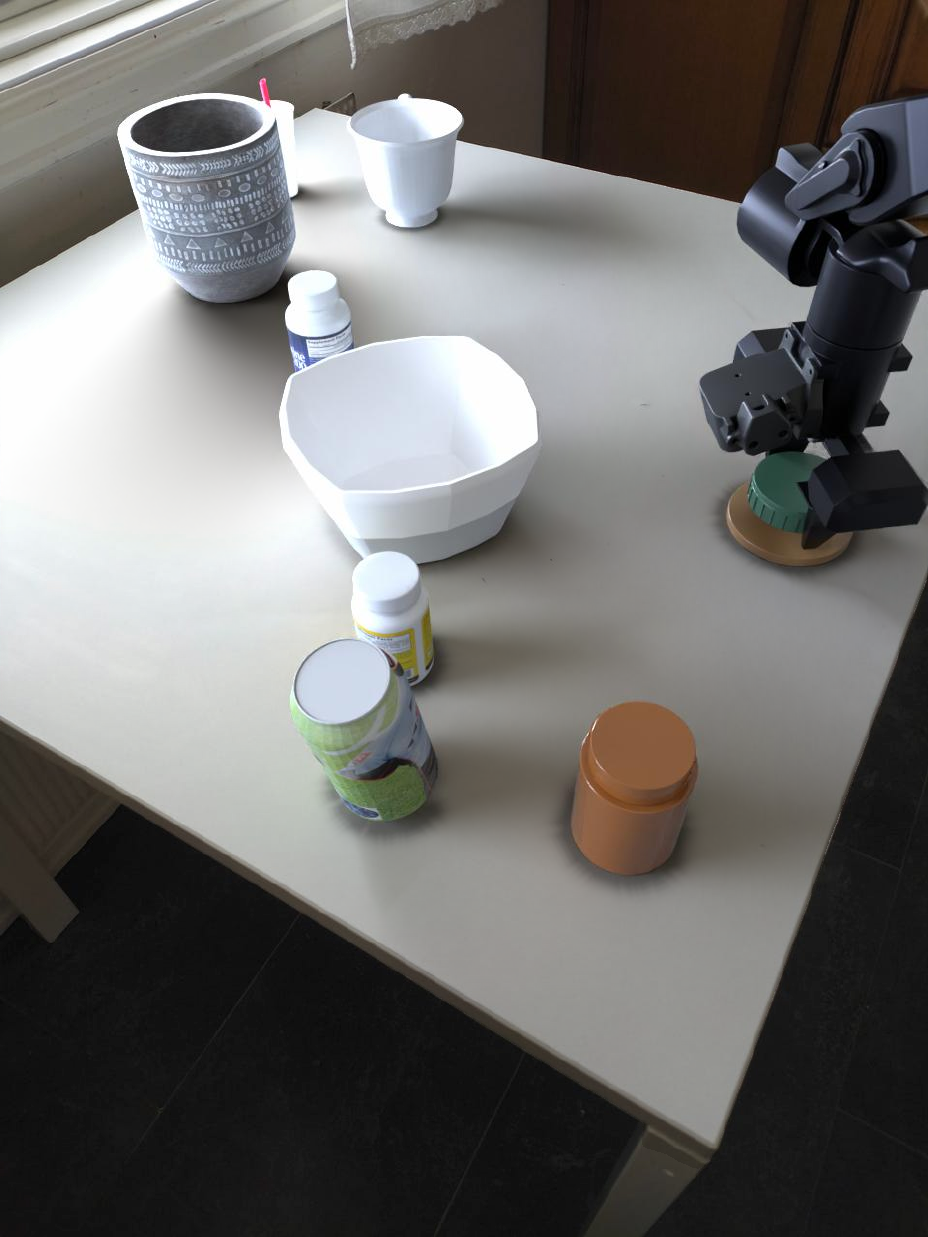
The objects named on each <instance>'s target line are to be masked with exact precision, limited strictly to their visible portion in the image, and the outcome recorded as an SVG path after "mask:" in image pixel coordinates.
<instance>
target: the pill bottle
mask: <svg viewBox="0 0 928 1237" xmlns="http://www.w3.org/2000/svg"><path fill="white" fill-rule="evenodd" d="M339 287H340V286H339V283H338V278H337V277H336V275H334V274H333V273H331V272H329V271H326V270H319V269H318V270H317V269H315V270H313V269H312V270H306V271H302V272H299V273H297V274H295V275H293V277H291V278H290V279H289V281H288V283H287V288H288V295H289V300H290V304H289V305H288V306H287V308H286V310H285V317H284V318H285V325H286V330H287V335H288V341H289V346H290V352H291V357H292V363H293V367H294V371H295V372H294V373H296V372H298V371H300V370H302V369H304V368H306V367H308V366H311V365H313V364H315V363H317V362H319V361H321V360H323V359H325V358H327V357H330V356H333V355H336V354H339V353H343V352H346V351H349V350H352V349H356V348H355V342H354V335H353V334H354V332H353V324H352V318H351V310H350V308H349V306H348V304H347V302H346V301H345V300H344V299H342V298H341V297H340V295H341V294H340V293H341V292H340V288H339Z"/></svg>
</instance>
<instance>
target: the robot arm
mask: <svg viewBox="0 0 928 1237" xmlns="http://www.w3.org/2000/svg"><path fill="white" fill-rule="evenodd" d="M840 133H841V134H842V135H841V136H840V138H839V139H838V141H836V143H834V144H833V146H832V147H831V148H830V149H828V151H827V152H826V153H825V154H824V155H823V154H822V152H821V151H820V150H819V149H818V148H817V147H815V146H813V145H812V144H811V143H810V142H804V143H798V144H797V143H796V144H791V145H786V146H781V147H780V148H779V150H778V153H777V158H776V162H775V166H772V167H771V168H770V169H768V170H767V171H766V172H764V173H763V174H762V175H761V176H760V177H759V178H758V179H757V180H756V181H755V183H753V185H752V186H751V188H750V189H749V190H748V192H747V193H746V195H745V197H744V199H743V201H742V202H741V203H740V204H739V206H738V208H737V209H738V210H737V214H736V230H737V234H738V236H739V237H740V239H741V241H742V242H743V243H744V244H746V245H747V246H748V247H749V248H750V249H751V250H752V251H753V252H755V253H756V254H757V255H758V256H759V257H760V258H761V259H763V260H764V261H765V262H766V263H768V265H770V266H771V267H772V268H773V269H774V270H775V271H777V272H778V273H779V274H780V275H781V276H783V277H784V278H785V279H786V280H787V281H788V282H789V283H790V284H792V285H793V286H796V287H799V288H812V287H815V290H814V293H813V295H812V300H811V303H810V306H809V310H808V313H807V316H806V320H801V321H792V322H791V323H790V326H786V327H777V328H776V327H775V328H766V329H764V328H763V329H753V330H751V331H750V332H749V333H747V334H746V335H745V336H743V338H741V339H740V340H739V341H738V342H736V346H735V350H734V354H733V359H732V362H730V363H728V364H725V365H723V366H721V367H718V368H715V369H713V370H710V371H708V372H706V373H704V374H703V375H702V376H701V377H700V378H699V380H698V389H699V393H700V398H701V402H702V403H701V404H702V406H703V407H702V408H703V411H704V416H705V421H706V422H707V424H708V426H709V427H710V429H711V431H712V434H713V435H714V437H715V439H716V441H717V442H716V443H717V444H718V446H719V448H720V449H721V450H722V451H724V452H725V453H739V452H741V451H744V454H745V455H748V456H751V457H756V456H758V455H762V454H765V455H764V456H765V458H766V457H768V456H770V455H773V454H776V453H780V452H790V451H794V452H805V451H806V449H807V448H808V446H809V444H810V443H811V444H817V443H821V444H822V445H823V447H824V449H825V450H826V452H827V454H828V455H829V457H828V458H826V459H827V460H825V461H824V462H823V463H821V464H820V465H818V466H817V467H816V468H814V469H813V470H812V473H811V476H810V478H809V481H803V482H796V485H797V487H798V488H799V490H800V492H801V494H802V495H803V497H804V499H805V501H806V502H807V504H808V510H807V515H806V519H805V524H804V528H803V533H802V541H801V546H802V548H803V549H804V550H807V549H815V548H818V547H819V546H820V545H822V544H823V543H824V542H826V541H827V540H829V539H830V538H831V537H833V536H834V535H835V534H837V533H845V532H853V533H854V532H860V531H862V532H863V531H871V530H881V529H888V528H889V529H890V528H898V527H906V526H907V527H909V526H916V525H918V524H919V523H920V521H921V520H922V518H923V516H924V513H925V512H926V510H927V508H928V485H927V484H926V483H925V481H924V480H923V479H922V477H921V476H920V474H919V473H918V471H917V470H916V469H915V468H914V466H913V464H912V463H911V462H910V459H908V458H907V457H906V456H905V455H904V453H903V452H902V451H901V450H900V449H891V450H890V449H889V450H881V451H876V450H875V449H874V447H873V446H872V444H871V443H870V442H869V440H868V439H867V437H866V436H865V434H864V431H865V429H866V428H876V427H878V428H879V427H885V426H886V425H887V421H888V419H889V417H890V415H891V412H890V411H889V410H888V408H887V406H886V405H885V404H884V402H883V401H882V400H881V398H882V395H883V393H884V391H885V388H886V385H887V382H888V379H889V377H890V374H891V373H899V372H908V370H909V368H910V365H911V363H912V360H913V358H914V356H913V355H912V353H911V352H910V351H909V349H908V348H907V347H906V346H905V345H904V343H903V341H904V339H905V337H906V334H907V331H908V329H909V326H910V324H911V321H912V318H913V316H914V313H915V311H916V308H917V307H918V306H917V305H918V303H919V300H920V298H921V295H922V293H923V291H927V290H928V234H927V235H926V234H924V232H922V231H920V229H918V228H916V227H915V226H913V225H912V224H910V223H909V222H908V221H906V220H903V219H909V218H913V217H919V216H924V215H928V92H926V93H922V94H915V95H912V96H905V97H901V98H894V99H891V100H884V101H880V102H874V103H870V104H866V105H863V106H860V107H859V108H857V109H855V110H854V111H853V112H852V113H851V114H850V115H849V116H848V117H847V118H846V120H845V121H844V122H843V123H842V126H841V128H840Z"/></svg>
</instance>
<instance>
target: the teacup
mask: <svg viewBox="0 0 928 1237" xmlns="http://www.w3.org/2000/svg"><path fill="white" fill-rule="evenodd" d="M464 124H465V119H464V117H463V115H462V113H460V111H459V110H457V108H455V107H453V106H452V105H449V104H448V103H445V102H442V101H438V100H433V99H426V98H412V95H411V94H409V93H402V94H400V95H399V96H398V98H395V99H389V100H383V101H379V102H375V103H372V104H369V105H366V106H365V107H362V108H360V109H359V110H357V111H356V112H355V113H353V115H352V116H351V117H350V118H349V120H348V121H347V124H346V125H347V126H346V127H347V130H348V132H349V133H350V135H352V136H353V137H354V139H355V142H356V146H357V150H358V153H359V157H360V162H361V166H362V172H363V175H364V180H365V184H366V187H367V189H368V193H369V196H370V197H371V199H372V201H373V202H374V203H375V204H376V205H377V207H379V208H380V209H382V210H384V211H385V212H386V213H385V217H386V220H387V221H388V222H389V223H390V224H392V225H394V226H396V227H400V228H405V229H406V228H407V229H408V228H409V229H410V228H412V229H413V228H421V227H424V226H427V225H429V224H431V223H433V222H434V221H435V220H436V219H437V217H438V208H440V207H441V206H442V205H443V204H444V203H445V202H446V200H447V199H448V197H449V196H450V193H451V190H452V187H453V186H452V185H453V179H454V172H455V170H454V169H455V157H456V148H457V138H458V134H459V131H460V130H461V129H462V128H463V127H464Z"/></svg>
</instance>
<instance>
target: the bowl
mask: <svg viewBox="0 0 928 1237" xmlns="http://www.w3.org/2000/svg"><path fill="white" fill-rule="evenodd" d="M279 424H280V432H281V439H282V447H283V449H284V451H285V452H286V454H287V455H288V457H289V459H290V460H291V461H292V463H293V464H294V466H295V467H296V469H297V471H298V472H299V474H300V476H301V477H302V478H303V480H304V481H305V482H306V484H307V485H308V487H309V488H310V489H311V491H312V492H313V494H314V495H315V497H316V498H317V499H318V501H319V503H320V504H321V506H322V507H323V508H324V510H325V511H326V513H327V514H328V515H329V517H331V519H332V520H333V522H334V523H335V525H336V526H337V527H338V528H339V530H340V531H341V533H342V534H343V536H344V538H346V541H348V543H349V544H350V546H351V547H352V548H353V550H354V551H356V553H357V554H359V556H360V557H362V559H363V560H364V559H365V558H366V557H368V556H370V555H373V554H376V553H379V552H398V553H402V554H404V555H407V556H408V557H410V558H411V559H412V560H413V561H414V562H415V563H416V564H417V565H418V564H423V563H429V562H435V561H442V560H445V559H447V558H450V557H452V556H455V555H458V554H460V553H463V552H466V551H469V550H471V549H473V548H475V547H477V546H479V545H481V544H483V543H484V542H486V541H488V540H490V539H491V538H493V537H495V536H496V535H497V534H499V532H500V531H501V529H502V527H503V526H504V524H505V522H506V520H507V518H508V516H509V514H510V512H511V510H512V508H513V506H514V504H515V502H516V500H517V498H518V496H520V494H521V492H522V490H523V488H524V486H525V485H526V482H527V480H528V478H529V477H530V474H531V472H532V470H533V468H534V467H535V465H536V463H537V461H538V459H539V456H540V455H541V453H542V450H543V445H542V443H543V442H542V431H541V417H540V413H539V411H538V408H537V406H536V403H535V401H534V399H533V397H532V394H531V392H530V390H529V387H528V385H527V383H526V382H525V380H524V379H523V378H522V377H521V376H520V375H519V374H518V373H516V371H515V370H514V369H513V368H512V367H511V366H510V365H509V364H508V363H507V362H505V361H504V360H503V358H501V356H500V355H498V354H497V353H495V352H493V351H491V350H490V349H488V348H487V347H485V346H484V345H482V344H481V343H478V342H477V341H475V340H474V339H472V338H471V337H468V336H466V335H430V336H429V335H424V336H423V335H421V336H415V337H414V336H413V337H406V338H399V339H393V340H385V341H380V342H379V341H378V342H371V343H368V344H366V345H362V346H358V347H356V348H355V349H352V350H349V351H346V352H343V353H339V354H336V355H333V356H330V357H327V358H325V359H323V360H321V361H319V362H317V363H315V364H313V365H311V366H308V367H306V368H304V369H302V370H300V371H298V372H293V373H292V374H291V375H289V377H288V379H287V382H286V384H285V388H284V393H283V396H282V400H281V405H280V409H279Z"/></svg>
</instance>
